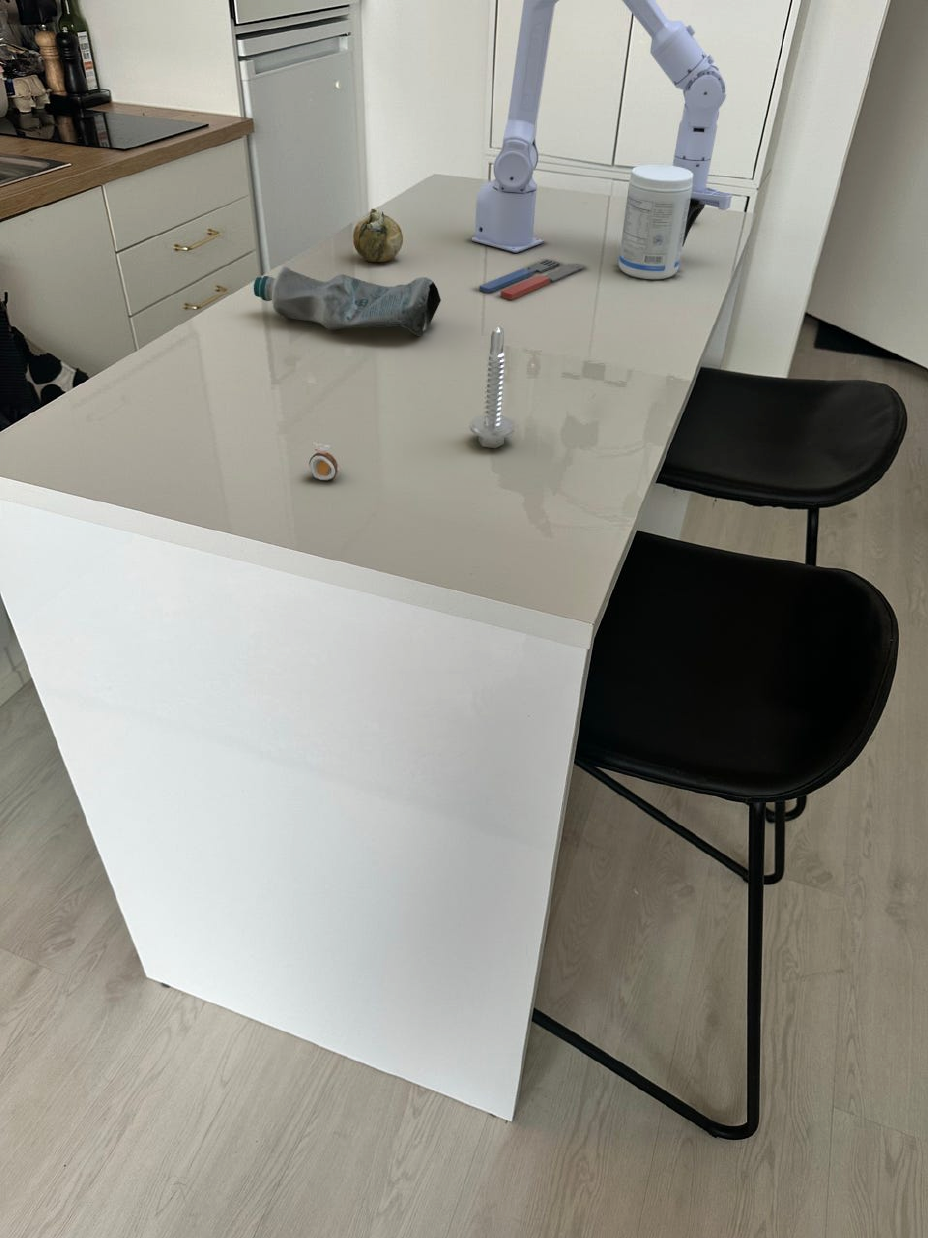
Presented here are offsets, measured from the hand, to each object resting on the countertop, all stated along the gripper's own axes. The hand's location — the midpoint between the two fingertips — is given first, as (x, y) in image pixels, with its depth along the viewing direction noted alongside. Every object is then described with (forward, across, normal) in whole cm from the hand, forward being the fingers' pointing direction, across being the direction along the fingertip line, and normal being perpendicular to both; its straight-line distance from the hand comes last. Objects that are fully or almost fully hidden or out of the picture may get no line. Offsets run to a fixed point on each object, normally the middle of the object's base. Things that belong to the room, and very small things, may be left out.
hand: (676, 246), depth 152 cm
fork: (+2, +13, +26) cm, 29 cm away
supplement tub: (+2, 0, +9) cm, 10 cm away
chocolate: (+2, -8, +89) cm, 90 cm away
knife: (+2, +9, +25) cm, 27 cm away
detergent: (+2, +19, +58) cm, 61 cm away
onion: (+2, +34, +35) cm, 49 cm away
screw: (+2, -16, +72) cm, 74 cm away
